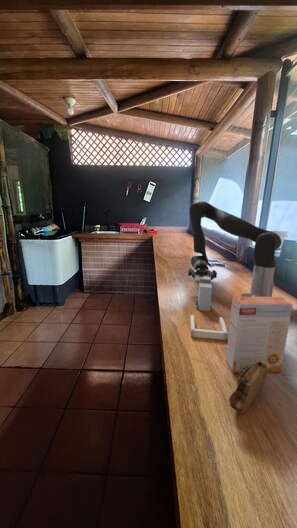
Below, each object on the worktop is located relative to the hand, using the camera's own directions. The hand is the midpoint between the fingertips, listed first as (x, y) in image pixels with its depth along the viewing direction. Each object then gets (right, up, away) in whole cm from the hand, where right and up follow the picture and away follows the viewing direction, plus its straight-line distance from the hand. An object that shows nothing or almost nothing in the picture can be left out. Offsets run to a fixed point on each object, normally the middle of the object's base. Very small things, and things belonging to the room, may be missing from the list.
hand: (203, 277), depth 116 cm
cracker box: (+3, -23, -47) cm, 53 cm away
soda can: (+11, -17, -23) cm, 31 cm away
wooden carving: (-4, -27, -60) cm, 65 cm away
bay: (-5, -18, -27) cm, 33 cm away
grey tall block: (-2, -13, -8) cm, 16 cm away
